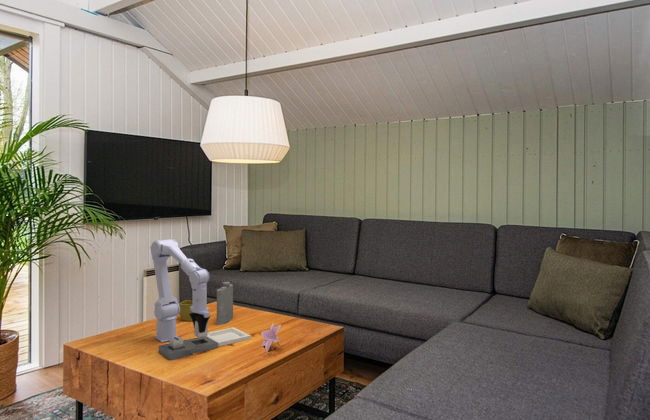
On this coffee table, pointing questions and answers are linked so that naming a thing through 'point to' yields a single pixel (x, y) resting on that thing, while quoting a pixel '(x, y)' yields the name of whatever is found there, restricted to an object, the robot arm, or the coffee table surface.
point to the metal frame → (188, 347)
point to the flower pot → (185, 310)
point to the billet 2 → (198, 330)
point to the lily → (270, 336)
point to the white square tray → (228, 336)
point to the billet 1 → (176, 343)
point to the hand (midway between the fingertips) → (199, 330)
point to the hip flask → (225, 303)
